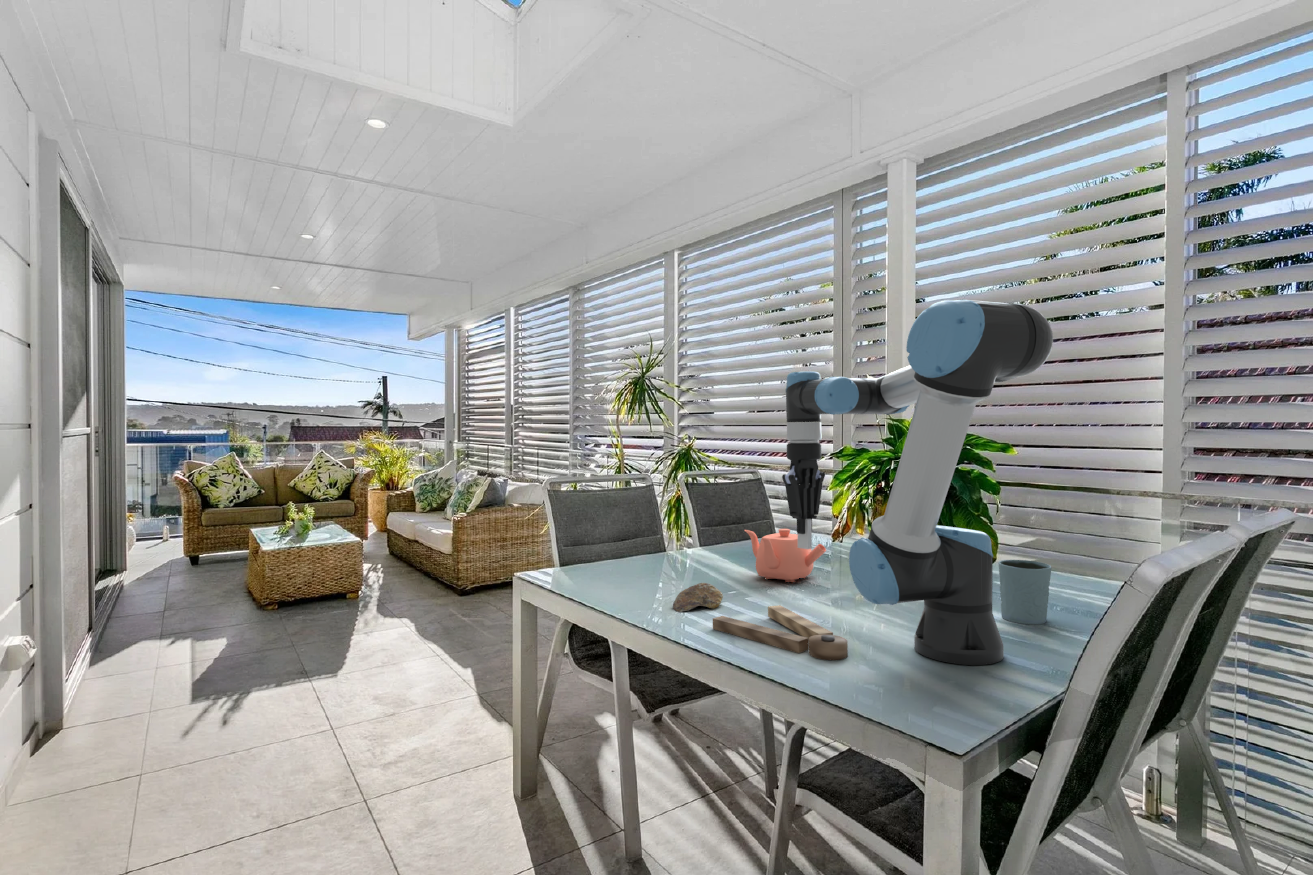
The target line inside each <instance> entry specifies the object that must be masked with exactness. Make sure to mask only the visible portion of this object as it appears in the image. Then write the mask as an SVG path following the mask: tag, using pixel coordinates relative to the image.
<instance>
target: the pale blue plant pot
mask: <svg viewBox="0 0 1313 875" xmlns="http://www.w3.org/2000/svg"><path fill="white" fill-rule="evenodd" d="M998 573H999V575H998V576H999V584H1000V585H999V592H1000V593H999V596H1000V601H1001V602H1000V611H1001V618H1002V619H1004V620H1006V621H1008V622H1011V623H1015V624H1016V623H1017V624H1021V625H1022V624H1023V625H1041V624H1045V623H1046V622H1047V617H1048V606H1049V605H1048V604H1049V597H1050V584H1051V583H1050V582H1051V576H1052V566H1051V564H1048V563H1045V562H1040V561H1036V560H1026V559H1025V560H1024V559H1003V560H999V561H998Z"/></svg>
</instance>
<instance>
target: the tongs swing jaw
mask: <svg viewBox="0 0 1313 875" xmlns="http://www.w3.org/2000/svg"><path fill="white" fill-rule="evenodd" d="M767 617H768V618H769V619H772V620H773V621H775V622H777V623H778V624H781V625H782V626H783V627H786V628H787V629H790V631H793V632H794V633H796V634H797V635H799V636H802V637H806V638H808V641H809V637H811V636H814V635H821V634H827V635H834V632H832V631H830V630H829V629H826V628H824V627H823V626H821V625H819V624H817V623H815V622H813V621H811V620H809V619H807V618H806V617H803V616H801V615H800V614H798V613H796V612H794V611H792V610H790V609H788V608H786V607H784V606H782V605H781V604H780V605H771V606H767Z"/></svg>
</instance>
